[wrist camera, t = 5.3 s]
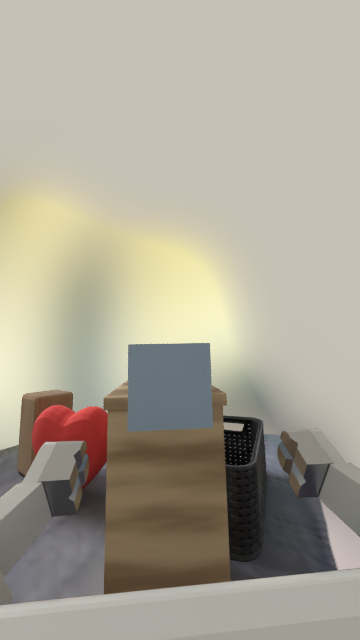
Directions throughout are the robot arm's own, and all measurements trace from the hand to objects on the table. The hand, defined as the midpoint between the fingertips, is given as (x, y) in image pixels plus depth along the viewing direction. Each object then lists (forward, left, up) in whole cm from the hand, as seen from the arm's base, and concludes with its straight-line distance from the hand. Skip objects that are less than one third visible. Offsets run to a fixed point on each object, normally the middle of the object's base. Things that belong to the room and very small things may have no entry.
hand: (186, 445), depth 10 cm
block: (+26, +64, -26) cm, 74 cm away
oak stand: (+15, +13, -26) cm, 33 cm away
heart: (+23, +46, -26) cm, 58 cm away
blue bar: (+11, +10, 0) cm, 14 cm away
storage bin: (+40, +20, -26) cm, 52 cm away
